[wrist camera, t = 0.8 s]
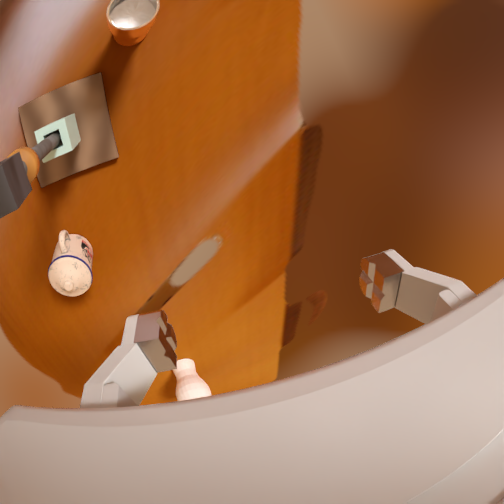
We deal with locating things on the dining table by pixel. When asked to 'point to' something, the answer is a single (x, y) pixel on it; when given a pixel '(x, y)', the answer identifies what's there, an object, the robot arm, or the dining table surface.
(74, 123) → the marker sleeve
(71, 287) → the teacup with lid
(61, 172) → the post stand
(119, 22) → the beer glass
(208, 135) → the dining table surface
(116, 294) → the dining table surface
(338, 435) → the robot arm
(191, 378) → the cup
